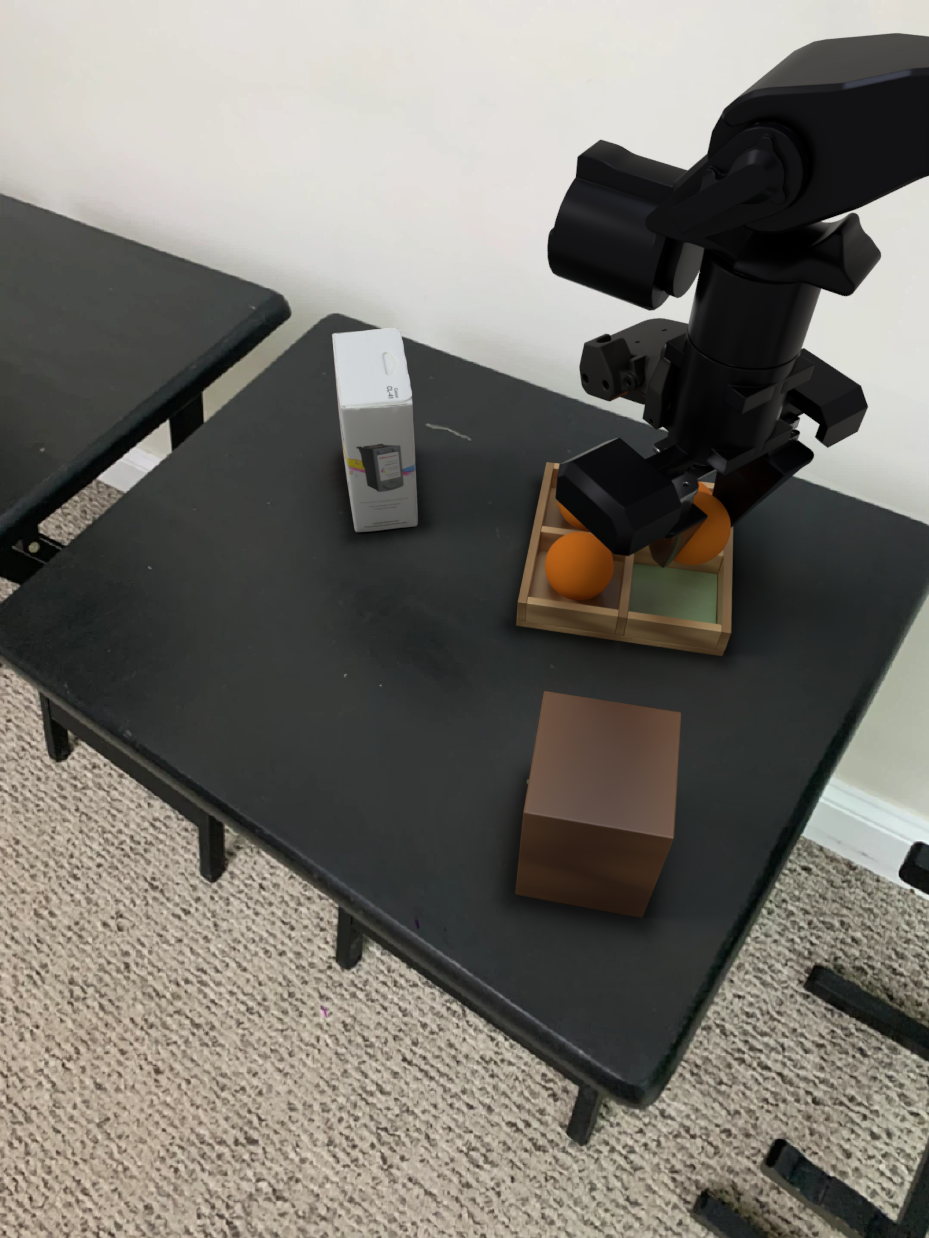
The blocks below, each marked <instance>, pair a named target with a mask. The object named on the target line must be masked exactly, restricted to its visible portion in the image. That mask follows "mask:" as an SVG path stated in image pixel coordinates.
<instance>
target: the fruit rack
mask: <svg viewBox="0 0 929 1238" xmlns="http://www.w3.org/2000/svg"><path fill="white" fill-rule="evenodd" d="M559 464H560V463H559V462H558V463H557V462H549V461H546V462H545V467H544V473H543V476H542V482H541V487H540V491H539V496H538V502H537V505H536V510H535V516H534V521H533V525H532V530H531V535H530V540H529V545H528V549H527V554H526V560H525V564H524V569H523V574H522V579H521V583H520V589H519V594H518V599H517V609H516V623H515V624H516V626H517V627H524V628H531V629H536V630H544V631H550V632H556V633H557V632H558V633H564V634H570V635H577V636H583V637H591V638H597V639H604V640H612V641H617V642H618V641H619V642H623V643H631V644H637V645H645V646H652V647H657V648H663V649H670V650H678V651H684V652H691V653H698V654H703V655H704V654H705V655H711V656H718V657H723V656H724V654H725V651H726V648H727V646H728V643H729V640H730V638H731V636H732V614H733V612H732V611H733V610H732V609H733V567H734V566H733V565H734V564H733V560H734V559H733V558H734V526H733V527H732V528H731V531H730V536H729V539H728V542H727V544H726V546H725V547H724V549H723V550H722V551H721V552H720V554H718V555H717V556H716V557H715V558H713V559H712V560H710V561H708V562H705V563H703V564H698V565H685V564H681V563H678V562H676V561H674V560H673V561H672V562H671V563H670V564H669V565H668V566H666V567H665V568H662V567H661V566H660V565H658V564H657V563H656V562H655V561H654V560H653V558H652V556H651V553H650V549H649V546H647V547H645V548H643V549H641V550H639V551H638V552H636V553H634V554H632V555H630V556H623V555H616V554H613V553H612V552H611V551H610V552H611V554H612V557H613V564H614V568H613V574H612V578H611V580H610V582H609V584H608V585H607V587H606V588H605V589H604V590H603V591H602V592H601V593H600V594H598V595H597V596H595V597H593V598H590V599H586V600H572V599H568V598H565V597H563V596H561V595H560V594H559V593H557V592H556V591H555V590H554V589H553V588H552V587H551V585H550V584H549V582H548V579H547V577H546V573H545V560H546V556H547V553H548V551H549V549H550V548H551V546H552V545H553V544H554V543H555V542H556V541H557V540H558V539H559V538H561V537H562V536H564V535H566V534H569V533H573V532H586V533H590V534H592V533H591V532H590V531H587V530H581V529H578V528H576V527H574V526H572V525H571V524H569V523H568V522H567V521H566V520H565V519H564V517H563V516H562V514H561V512H560V510H559V507H558V501H557V500H556V499H555V495H556V485H557V475H558V470H559ZM700 482H701V483H703V484H704V485H705V486H706V487H708V489H709V490H710V491H711V493H713V488H714V483H715V482H707V481H700Z"/></svg>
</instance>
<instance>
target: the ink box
mask: <svg viewBox="0 0 929 1238" xmlns="http://www.w3.org/2000/svg"><path fill="white" fill-rule="evenodd" d="M331 336H332V346H333V347H332V349H333V361H334V362H333V363H334V373H335V385H336V395H337V396H336V397H337V406H338V407H337V408H338V418H339V427H340V428H339V429H340V437H341V444H342V452H343V460H344V468H345V476H346V482H347V489H348V496H349V503H350V507H351V508H350V509H351V514H352V515H351V516H352V522H353V528H354V531H355V533H368V532H377V531H384V530H385V531H386V530H393V529H401V528H402V529H403V528H411V527H412V528H413V527H417V526H418V524H419V515H418V512H419V511H418V491H417V490H418V489H417V469H416V446H415V429H414V408H413V407H414V406H413V391H412V387H411V379H410V375H409V372H408V363H407V357H406V354H405V346H404V341H403V336H402V331H401V330H400V328H399V327H398V328H397V327H385V328H384V327H383V328H376V329H367V330H359V331H358V330H357V331H344V332H333V333H332V334H331Z"/></svg>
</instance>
